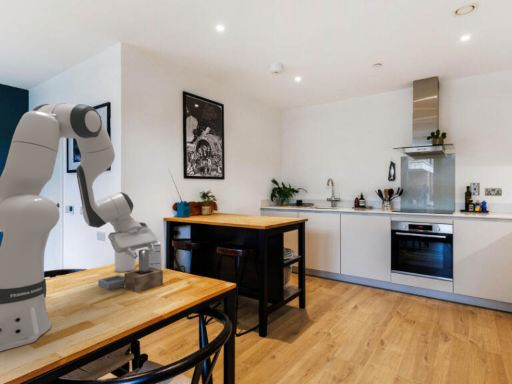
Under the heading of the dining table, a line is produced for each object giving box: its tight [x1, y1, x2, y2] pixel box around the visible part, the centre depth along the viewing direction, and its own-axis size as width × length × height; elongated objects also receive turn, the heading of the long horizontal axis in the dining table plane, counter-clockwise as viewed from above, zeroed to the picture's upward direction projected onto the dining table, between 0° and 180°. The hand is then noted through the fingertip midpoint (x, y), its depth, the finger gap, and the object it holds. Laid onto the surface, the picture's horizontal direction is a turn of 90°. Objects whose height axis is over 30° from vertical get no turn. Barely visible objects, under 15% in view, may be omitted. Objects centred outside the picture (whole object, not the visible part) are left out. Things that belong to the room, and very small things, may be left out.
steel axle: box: [138, 248, 149, 275], centre depth 124 cm, size 4×4×15 cm
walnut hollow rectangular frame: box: [123, 267, 164, 293], centre depth 124 cm, size 12×9×6 cm
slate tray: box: [97, 274, 124, 291], centre depth 126 cm, size 9×9×2 cm
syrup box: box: [147, 241, 162, 270], centre depth 145 cm, size 6×6×14 cm
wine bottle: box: [114, 249, 137, 273], centre depth 149 cm, size 10×10×30 cm
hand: (144, 255), depth 124 cm, fingers open, 8 cm apart
